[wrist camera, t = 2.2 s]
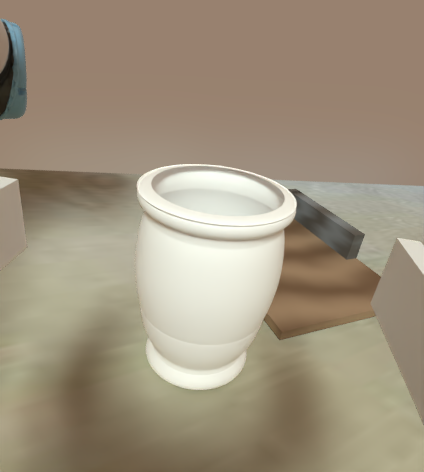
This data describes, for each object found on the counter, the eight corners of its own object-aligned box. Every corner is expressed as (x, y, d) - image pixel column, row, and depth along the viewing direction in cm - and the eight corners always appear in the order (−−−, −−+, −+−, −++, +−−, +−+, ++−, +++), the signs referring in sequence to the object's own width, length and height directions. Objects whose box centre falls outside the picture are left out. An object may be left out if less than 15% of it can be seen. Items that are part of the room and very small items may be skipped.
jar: (127, 406, 26) (130, 217, 19) (136, 309, 35) (141, 157, 28) (271, 403, 28) (323, 228, 20) (244, 311, 36) (275, 168, 29)
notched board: (189, 222, 52) (192, 193, 50) (288, 213, 59) (294, 188, 57) (279, 340, 34) (290, 301, 31) (409, 307, 40) (425, 274, 38)
